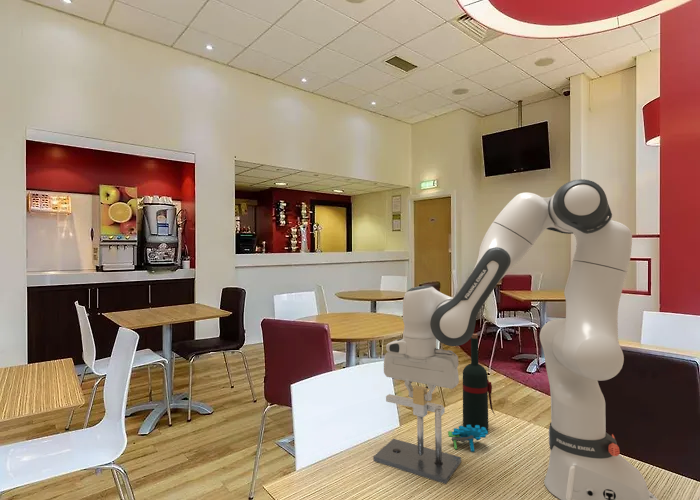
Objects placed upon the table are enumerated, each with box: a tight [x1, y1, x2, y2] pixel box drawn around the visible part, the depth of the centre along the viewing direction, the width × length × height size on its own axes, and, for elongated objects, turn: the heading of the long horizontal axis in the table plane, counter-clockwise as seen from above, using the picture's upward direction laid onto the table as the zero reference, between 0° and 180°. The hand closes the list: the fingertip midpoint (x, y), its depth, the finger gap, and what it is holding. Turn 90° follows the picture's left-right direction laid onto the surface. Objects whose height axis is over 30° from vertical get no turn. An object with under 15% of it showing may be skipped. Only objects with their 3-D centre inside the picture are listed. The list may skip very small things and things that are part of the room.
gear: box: [447, 425, 489, 453], centre depth 112 cm, size 11×6×10 cm
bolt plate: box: [373, 438, 462, 485], centre depth 105 cm, size 20×12×1 cm, turn 57°
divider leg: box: [412, 385, 428, 456], centre depth 105 cm, size 3×2×18 cm
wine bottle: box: [462, 333, 496, 432], centre depth 124 cm, size 8×10×30 cm
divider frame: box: [385, 393, 446, 465], centre depth 107 cm, size 17×4×14 cm, turn 57°
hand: (420, 398), depth 105 cm, fingers closed on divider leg, 3 cm apart
